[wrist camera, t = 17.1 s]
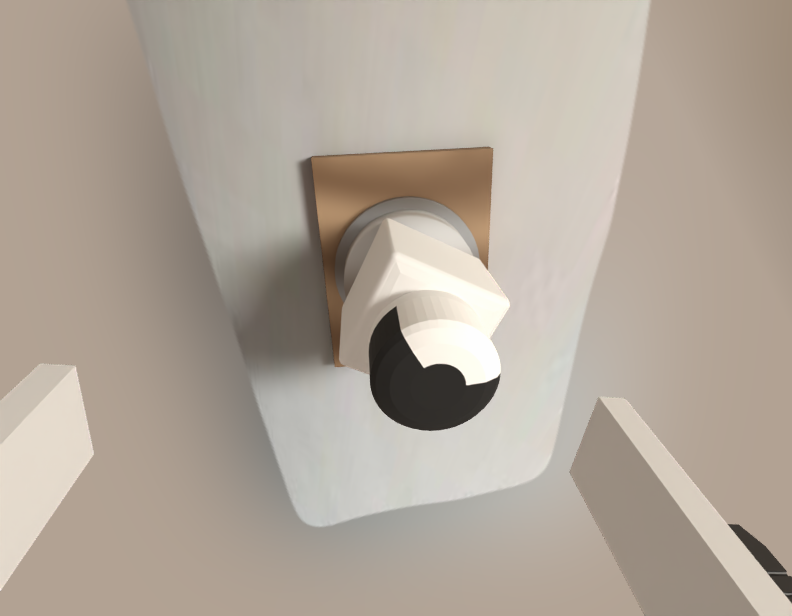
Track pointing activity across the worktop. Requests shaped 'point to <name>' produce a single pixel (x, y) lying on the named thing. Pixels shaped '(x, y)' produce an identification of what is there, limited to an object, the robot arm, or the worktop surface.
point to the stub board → (397, 208)
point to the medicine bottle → (423, 329)
